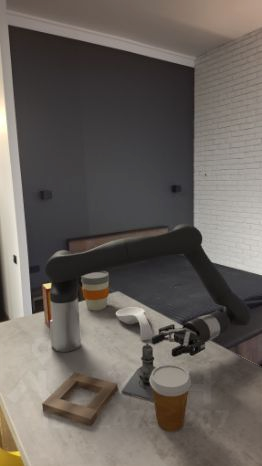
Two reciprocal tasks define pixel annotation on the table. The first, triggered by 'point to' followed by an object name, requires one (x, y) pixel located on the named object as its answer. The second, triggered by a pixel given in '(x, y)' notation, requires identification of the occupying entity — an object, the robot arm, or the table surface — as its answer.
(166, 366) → the disposable coffee cup
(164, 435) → the table surface
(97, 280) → the reusable coffee cup
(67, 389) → the walnut holder
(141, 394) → the charcoal coaster
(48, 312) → the baking soda box
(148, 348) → the black chess piece
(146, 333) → the spoon rest
